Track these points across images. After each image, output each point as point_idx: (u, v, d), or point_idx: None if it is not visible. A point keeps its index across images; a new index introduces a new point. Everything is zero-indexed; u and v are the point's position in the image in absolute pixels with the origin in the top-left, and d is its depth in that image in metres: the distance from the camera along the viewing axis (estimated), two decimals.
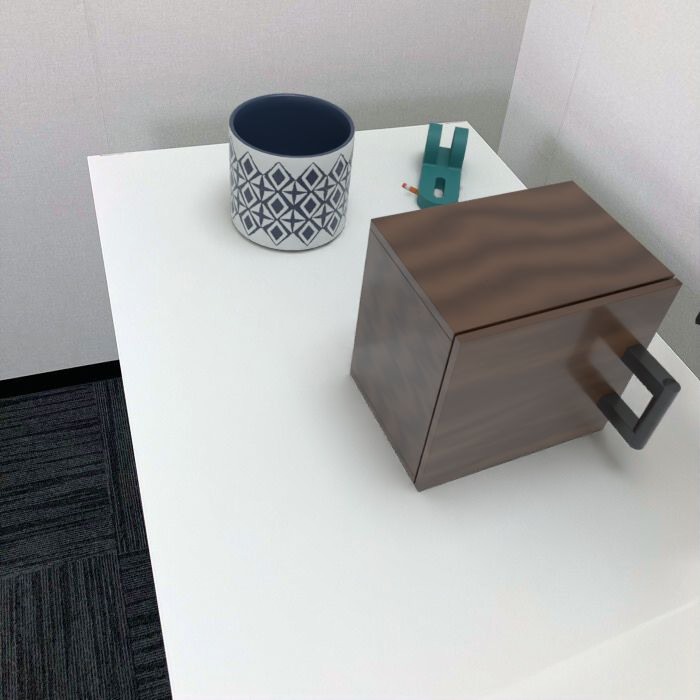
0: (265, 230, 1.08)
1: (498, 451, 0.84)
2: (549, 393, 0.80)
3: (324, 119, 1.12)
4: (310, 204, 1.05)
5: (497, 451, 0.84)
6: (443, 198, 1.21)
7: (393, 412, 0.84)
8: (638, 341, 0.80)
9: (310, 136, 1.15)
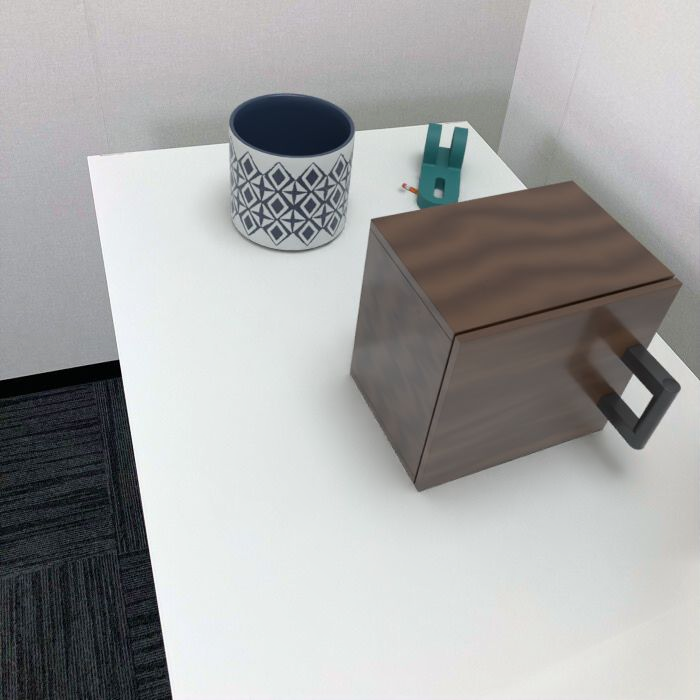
0: (265, 230, 1.08)
1: (498, 451, 0.84)
2: (549, 393, 0.80)
3: (324, 119, 1.12)
4: (310, 204, 1.05)
5: (497, 451, 0.84)
6: (443, 198, 1.21)
7: (393, 412, 0.84)
8: (638, 341, 0.80)
9: (311, 136, 1.15)
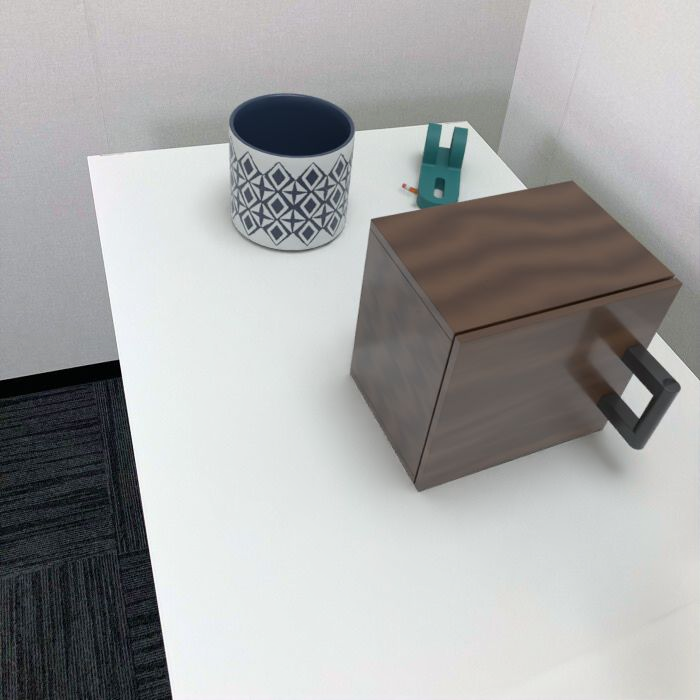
0: (265, 230, 1.08)
1: (498, 451, 0.84)
2: (549, 393, 0.80)
3: (324, 119, 1.12)
4: (310, 204, 1.05)
5: (497, 451, 0.84)
6: (443, 198, 1.21)
7: (393, 412, 0.84)
8: (638, 341, 0.80)
9: (311, 136, 1.15)
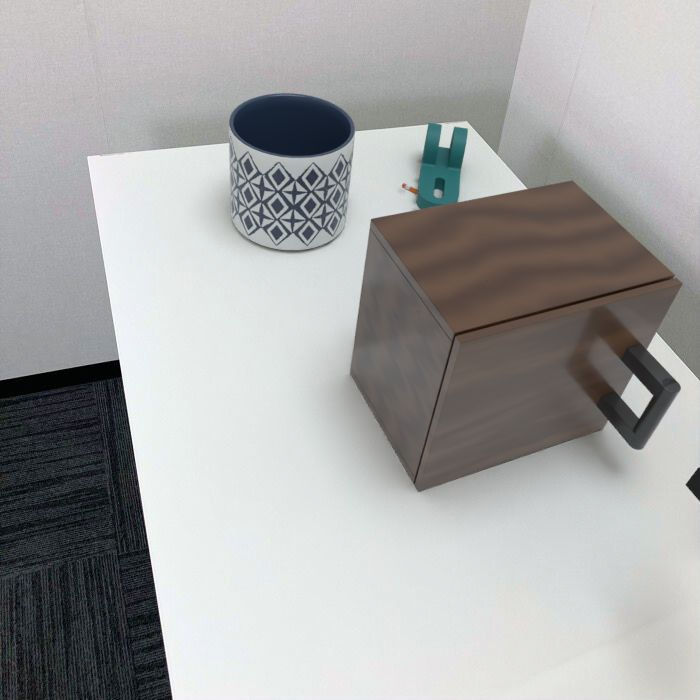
0: (265, 230, 1.08)
1: (498, 451, 0.84)
2: (549, 393, 0.80)
3: (324, 119, 1.12)
4: (310, 204, 1.05)
5: (497, 451, 0.84)
6: (443, 198, 1.21)
7: (393, 412, 0.84)
8: (638, 341, 0.80)
9: (311, 136, 1.15)
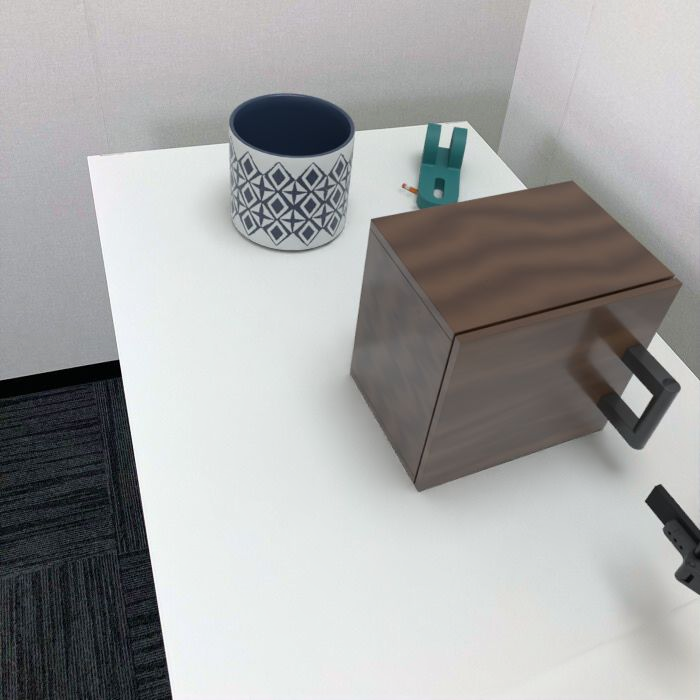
0: (265, 230, 1.08)
1: (498, 451, 0.84)
2: (549, 393, 0.80)
3: (324, 119, 1.12)
4: (310, 204, 1.05)
5: (497, 451, 0.84)
6: (443, 198, 1.21)
7: (393, 412, 0.84)
8: (638, 341, 0.80)
9: (311, 136, 1.15)
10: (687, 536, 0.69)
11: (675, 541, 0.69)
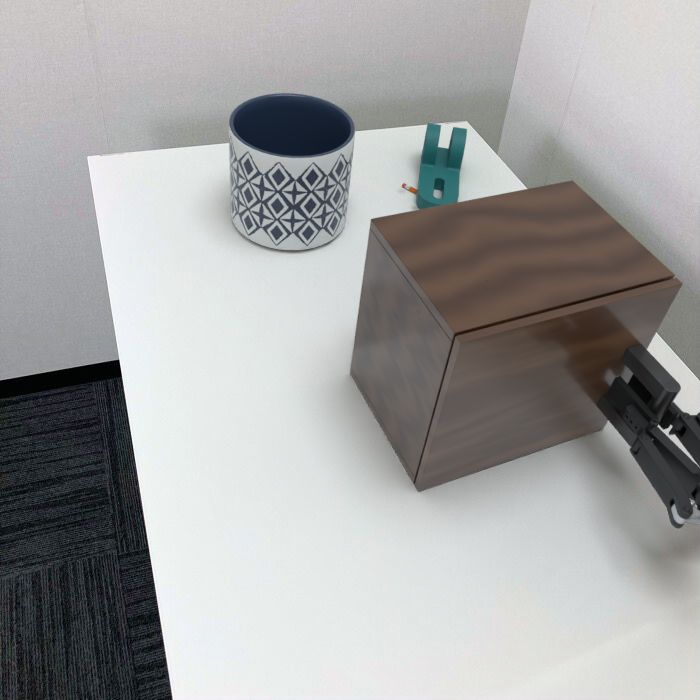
0: (265, 230, 1.08)
1: (498, 451, 0.84)
2: (549, 393, 0.80)
3: (324, 119, 1.12)
4: (310, 204, 1.05)
5: (497, 451, 0.84)
6: (443, 199, 1.21)
7: (393, 412, 0.84)
8: (638, 341, 0.80)
9: (311, 136, 1.15)
10: (641, 417, 0.79)
11: (631, 422, 0.79)
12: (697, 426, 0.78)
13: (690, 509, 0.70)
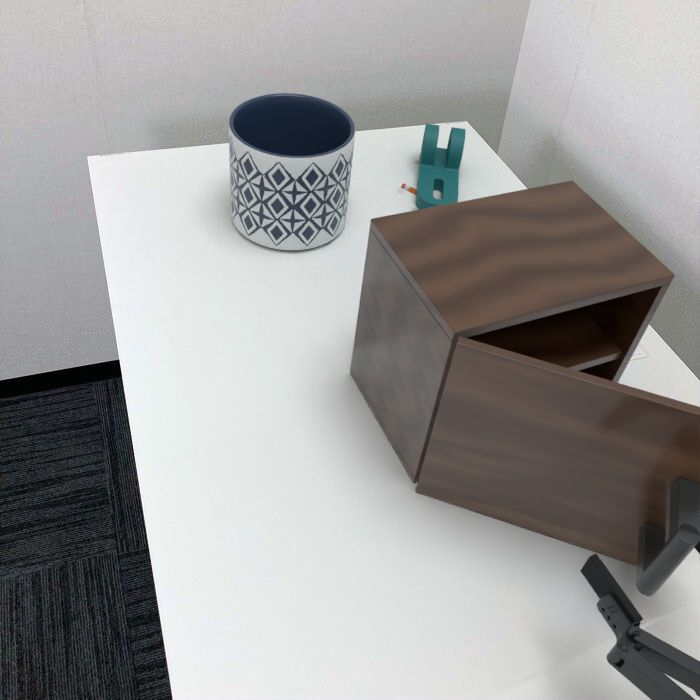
0: (265, 230, 1.08)
1: (507, 505, 0.79)
2: (569, 471, 0.73)
3: (324, 119, 1.12)
4: (310, 204, 1.05)
5: (506, 505, 0.79)
6: (442, 199, 1.21)
7: (393, 412, 0.84)
8: (695, 478, 0.68)
9: (311, 136, 1.15)
10: (622, 613, 0.63)
11: (609, 619, 0.64)
12: None
13: None
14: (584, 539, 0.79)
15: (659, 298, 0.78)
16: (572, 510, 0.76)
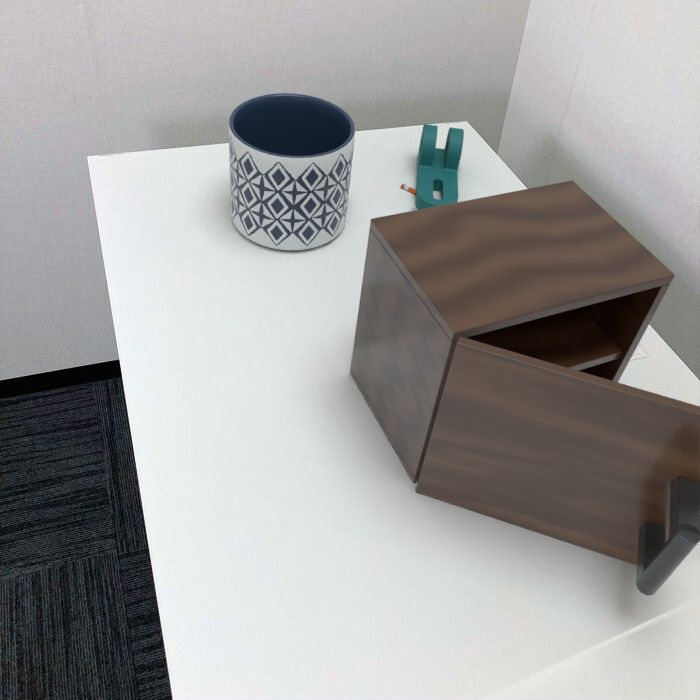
0: (265, 230, 1.08)
1: (507, 505, 0.79)
2: (569, 471, 0.73)
3: (324, 119, 1.12)
4: (310, 204, 1.05)
5: (506, 504, 0.79)
6: (443, 200, 1.20)
7: (393, 412, 0.84)
8: (695, 477, 0.68)
9: (311, 136, 1.15)
10: None
11: None
12: None
13: None
14: (584, 539, 0.79)
15: (659, 298, 0.78)
16: (572, 510, 0.76)
